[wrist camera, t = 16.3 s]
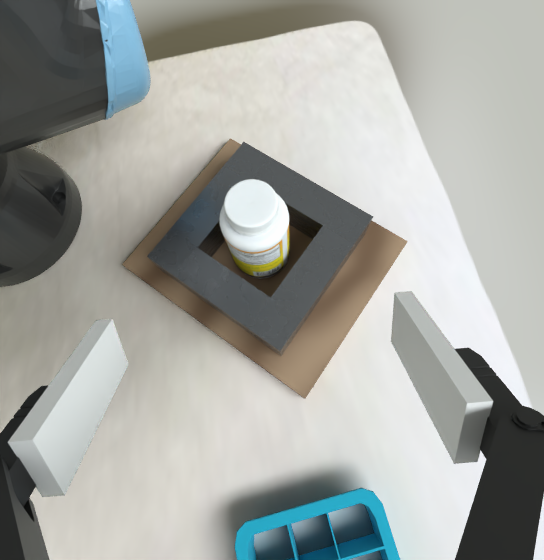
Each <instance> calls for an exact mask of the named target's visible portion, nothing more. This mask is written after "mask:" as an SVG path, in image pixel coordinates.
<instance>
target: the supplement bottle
mask: <svg viewBox="0 0 544 560" xmlns="http://www.w3.org/2000/svg"><path fill="white" fill-rule="evenodd" d="M219 223H220V228H221V231H222V234H223V236H224V238H225V241H226V243H227V245H228V247H229V250H230V252H231V255H232V257H233V259H234V262H235V263H236V265H237V267H238V268H239V269H240V270H241V271H242V272H243V273H244V274H246V275H248V276H250V277H253V278H259V279H262V278H269V277H272V276H274V275H276V274H277V273H279V272H280V271H281V270H282V269H283V268H284V266H285V265H286V263H287V261H288V258H289V213H288V209H287V206H286V204H285V202H284V201H283V199H282V198H281V197H280V196H279V195H278V194H277V193H275V191H274V190H273V188H272V187H271V186H270V185H268V184H267V183H265V182H263V181H260V180H256V179H248V180H243V181H241V182H238V183H237V184H235V185H234V186H233V187H231V188H230V190H229V191H228V192H227V194H226V197H225V200H224V204H223V206H222V209H221V212H220V217H219Z"/></svg>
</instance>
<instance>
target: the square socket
mask: <svg viewBox="0 0 544 560" xmlns="http://www.w3.org/2000/svg"><path fill="white" fill-rule="evenodd" d="M248 179H256V180H260V181H263V182H265V183H267V184H268V185H270V186H271V187H272V188H273V190H274V191H275V193H277V194H278V195H279V196H280V197H281V198H282V199H283V201H284V202H285V204H286V206H287V209H288V213H289V225H291V226H292V227H294V228H296V229H297V230H299V231H300V232H302V233H304V234H305V235H307V236H308V237H310V238H312V239H313V240H312V241H311V243H310V244H309V246H308V247H307V248H306V250H305V251H304V252H303V254H302V255H301V257H300V258H299V259H298V261H297V262H296V263H295V265H294V266H293V268H292V269H291V270H290V272H289V273H288V274H287V276H286V277H285V279H284V280H283V281H282V283H281V284H280V285H279V287H278V288H277V290H276V291H275V292H274V294H273V295H272V296H271V297H269V296H268V295H266V294H265V293H263V292H262V291H260V290H259V289H258V288H256V287H255V286H253V285H252V284H250V283H249V282H247V281H246V280H244V279H243V278H241V277H240V276H238V275H237V274H235V273H234V272H232V271H231V270H229V269H228V268H227V267H225V266H224V265H222V264H221V263H219V262H218V261H216V260H215V259H213V258H212V256H213V255H214V254H215V253H216V251H217V250H218V249H219V248H220V246H221V245H222V244H223V242H224V241H225V238H224V236H223V234H222V231H221V228H220V223H219V217H220V212H221V209H222V206H223V204H224V200H225V197H226V194H227V192H228V191H229V190H230V188H231V187H233V186H234V185H235V184H237V183H238V182H241V181H243V180H248ZM372 218H373V216H371V215H369V214H367V213H366V212H364V211H362V210H361V209H359V208H357V207H355V206H354V205H352V204H350V203H348V202H347V201H345V200H343V199H342V198H340V197H338V196H336V195H335V194H333V193H331V192H329V191H328V190H326V189H324V188H323V187H321V186H319V185H317V184H316V183H314V182H312V181H310V180H309V179H307V178H305V177H304V176H302V175H300V174H298V173H297V172H295V171H293V170H291V169H290V168H288V167H286V166H285V165H283V164H281V163H279V162H278V161H276V160H274V159H272V158H271V157H269V156H267V155H266V154H264V153H262V152H260V151H259V150H257V149H255V148H253V147H252V146H250V145H248V144H247V143H245V142H243V143H242V145H241V146H240V147H239V148H238V149H237V150H236V152H235V153H234V154H233V155H232V156H231V158H230V159H229V160H228V161H227V162H226V163H225V165H224V166H223V167H222V168H221V169H220V171H219V172H218V173H217V174H216V175H215V176H214V178H213V179H212V180H211V181H210V182H209V184H208V185H207V186H206V187H205V188H204V190H203V191H202V192H201V193H200V194H199V195H198V197H197V198H196V199H195V200H194V201H193V203H192V204H191V205H190V206H189V207H188V208H187V210H186V211H185V212H184V213H183V214H182V216H181V217H180V218H179V219H178V220H177V221H176V223H175V224H174V225H173V226H172V227H171V229H170V230H169V231H168V232H167V233H166V234H165V236H164V237H163V238H162V239H161V240H160V242H159V243H158V244H157V245H156V246H155V247H154V249H153V250H152V251H151V252H150V253H149V255H148V256H147V257H148V258H149V259H150V260H151V261H152V262H153V263H154V264H155V265H156V266H157V267H158V268H159V269H161V270H162V271H163V272H164V273H166V274H167V275H168V276H170V277H171V278H173V279H174V280H175V281H177V282H178V283H180V284H181V285H182V286H184V287H185V288H187V289H188V290H189V291H191V292H192V293H194V294H195V295H196V296H198V297H199V298H201V299H202V300H203V301H205V302H206V303H208V304H209V305H210V306H212V307H213V308H215V309H216V310H217V311H219V312H220V313H222V314H223V315H224V316H226V317H227V318H229V319H230V320H231V321H233V322H234V323H236V324H237V325H238V326H240V327H241V328H243V329H244V330H245V331H247V332H248V333H250V334H251V335H252V336H254V337H255V338H257V339H258V340H259V341H261V342H262V343H264V344H265V345H266V346H268V347H269V348H271V349H272V350H273V351H275V352H276V353H278V354H279V355H280V356H282V354H283V353H284V351H285V350H286V349H287V347H288V346H289V344H290V343H291V341H292V340H293V338H294V337H295V335H296V334H297V333H298V331H299V330H300V328H301V327H302V325H303V324H304V322H305V321H306V320H307V318H308V317H309V315H310V314H311V312H312V311H313V309H314V308H315V306H316V305H317V304H318V302H319V301H320V299H321V298H322V296H323V295H324V293H325V292H326V290H327V289H328V288H329V286H330V285H331V283H332V282H333V280H334V279H335V277H336V276H337V275H338V273H339V272H340V270H341V269H342V267H343V266H344V264H345V263H346V261H347V260H348V259H349V257H350V256H351V254H352V253H353V251H354V250H355V248H356V247H357V245H358V244H359V243H360V241H361V240H362V238H363V237H364V235H365V233H366V231H367V229H368V227H369V225H370V223H371V220H372Z"/></svg>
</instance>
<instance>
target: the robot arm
mask: <svg viewBox="0 0 544 560" xmlns="http://www.w3.org/2000/svg"><path fill="white" fill-rule="evenodd" d="M149 88H150V71H149V66H148V62H147V58H146V54H145V50H144V46H143V42H142V39H141V35H140V32H139V29H138V25H137V22H136V18H135V15H134V12H133V9H132V6H131V3H130V0H0V287H2V286H10V285H14V284H18V283H21V282H24V281H27V280H29V279H31V278H34V277H35V276H37V275H39V274H41V273H42V272H44V271H45V270H47V269H48V268H49V267H51V266H52V265H53V264H54V263H55V262H56V261H57V260H58V259H59V258H60V257H61V256H62V255H63V254H64V253H65V251H66V250H67V249H68V247H69V246H70V244H71V243H72V241H73V239H74V237H75V235H76V233H77V230H78V227H79V224H80V220H81V212H82V205H81V198H80V194H79V191H78V189H77V186H76V185H75V183H74V181H73V180H72V179H71V178H70V176H69V175H68V174H67V173H66V172H65V171H64V170H63V169H62V168H60V167H59V166H58V165H57V164H56V163H55V162H54V161H52V160H51V159H50V158H48V157H46V156H45V155H43V154H41V153H38V152H36V151H34V150H32V149H30V148H27V147H25V146H28V145H31V144H33V143H36V142H39V141H42V140H45V139H48V138H51V137H54V136H57V135H59V134H62V133H65V132H68V131H71V130H74V129H77V128H80V127H82V126H85V125H88V124H91V123H94V122H97V121H100V120H103V119H104V120H107V119H108V118H111V117H112V116H113V114H114V113H117V112H119V111H121V110H123V109H126V108H128V107H130V106H132V105H135V104H137V103H139V102H141V101H142V100H143V99H144V98H145V96H146V95H147V93H148V91H149ZM391 342H392V344H393V346H394V348H395V350H396V352H397V354H398V356H399V358H400V360H401V362H402V363H403V365H404V367H405V369H406V371H407V373H408V375H409V377H410V379H411V381H412V383H413V385H414V387H415V389H416V391H417V393H418V394H419V396H420V398H421V400H422V402H423V404H424V406H425V408H426V410H427V412H428V414H429V416H430V418H431V420H432V422H433V424H434V426H435V427H436V429H437V431H438V433H439V435H440V437H441V439H442V441H443V443H444V445H445V447H446V449H447V451H448V453H449V455H450V457H451V459H452V460H453V462H454V464H455V463H468V462H477V461H478V457H479V454H480V450H481V451H482V453H483V454H484V456H485V458H486V459H487V460H486V463H485V466H484V469H483V472H482V475H481V479H480V482H479V485H478V488H477V491H476V495H475V498H474V501H473V504H472V507H471V510H470V514H469V517H468V520H467V523H466V526H465V529H464V533H463V536H462V539H461V542H460V545H459V549H458V552H457V555H456V558H455V560H533V556H534V550H535V544H536V537H537V531H538V525H539V519H540V512H541V506H542V500H543V494H544V416H543V415H542V414H541V413H539V412H538V411H535V410H534V409H532V408H529V407H525V406H522V405H521V404H520V402H519V401H518V400H517V399H516V398H515V396H514V395H513V394H512V393H511V391H510V390H509V389H508V388H507V387H506V385H505V384H504V383H503V382H502V381H501V379H500V378H499V377H498V376H496V373H495V372H494V371H493V370H492V368H490V367H489V365H488V364H487V362H486V361H485V360H484V359H483V358H482V356H480V355H479V354H477V353H476V352H474V351H473V350H471V349H470V348H460V349H454V348H453V346H452V345H451V344H450V342H449V341H448V340H447V338H446V337H445V336H444V334H443V333H442V332H441V330H440V329H439V328H438V326H437V325H436V324H435V322H434V321H433V320H432V318H431V317H430V316H429V314H428V313H427V312H426V310H425V309H424V308H423V306H422V305H421V304H420V302H419V301H418V299H417V298H416V297H415V295H414V294H413V293H412V291H409V292H398V293H395V295H394V308H393V321H392V335H391ZM128 365H129V364H128V361H127V359H126V356H125V353H124V350H123V347H122V344H121V342H120V339H119V336H118V333H117V330H116V328H115V325H114V322H113V319H103V320H96V321H95V322H94V324H93V325H92V327H91V328H90V329H89V331H88V332H87V333H86V335H85V336H84V338H83V339H82V340H81V342H80V343H79V344H78V346H77V347H76V349H75V350H74V351H73V353H72V354H71V356H70V357H69V358H68V360H67V361H66V362H65V364H64V365H63V367H62V368H61V369H60V371H59V372H58V373H57V375H56V376H55V378H54V379H53V380H52V382H51V383H50V385H49V386H41V387H40V388H38V389H37V390H36V391H35V392H34V393H32V394H31V395H30V396H29V397H28V398H27V399H26V401H25V402H24V403H23V405H22V406H21V407H20V408H21V409H19V410H18V411H17V412H16V414H15V415H14V418H13V419H11V420H10V422H9V423H8V424H7V426H6V427H5V428H4V430H3V431H2V432H1V433H0V560H49V557H48V553H47V550H46V547H45V543H44V540H43V536H42V533H41V529H40V526H39V522H38V519H37V515H36V512H35V508H34V505H33V503H32V501H31V500H30V498H29V497H30V495H31V494H32V492H33V490H34V488H35V487H36V488H37V489H38V491H39V492H40V494H41V495H42V497H49V496H62V495H65V494H66V492H67V489H68V487H69V485H70V483H71V481H72V479H73V477H74V475H75V473H76V471H77V469H78V467H79V465H80V463H81V461H82V459H83V457H84V455H85V453H86V451H87V449H88V446H89V444H90V442H91V440H92V438H93V436H94V434H95V432H96V430H97V428H98V426H99V424H100V422H101V420H102V418H103V416H104V414H105V412H106V410H107V408H108V406H109V403H110V401H111V399H112V397H113V395H114V393H115V391H116V389H117V387H118V385H119V383H120V381H121V379H122V377H123V375H124V373H125V371H126V369H127V367H128Z"/></svg>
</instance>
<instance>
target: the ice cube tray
mask: <svg viewBox="0 0 544 560" xmlns="http://www.w3.org/2000/svg"><path fill="white" fill-rule="evenodd" d="M360 503H362V504H364V505H365V507H366V509H367V511H368V513H369V517H370V520H371V523H372V527H373V530H374V533H373V534H370V535H367V536H363V537H360V538H357V539H353V540H350V541H346V542H343V543H340V544H336V541H335V537H334V534H333V530H332V526H331V523H330V519H329V515H328V513H329V512H332V511H336V510H339V509H343V508H346V507H350V506H353V505H356V504H360ZM322 514H327V518H328V522H329V525H330V529H331V533H332V536H333V540H334V544H335V545H333V546H330V547H326V548H323V549H319V550H316V551H313V552H309V553H306V554H303V555H299V554H298V550H297V546H296V542H295V538H294V534H293V530H292V526H291V523H295V522H298V521H302V520H305V519H309V518H312V517H315V516H319V515H322ZM285 525H287V527H288V531H289V535H290V539H291V544H292V548H293V552H294V556H295V557H292V558H289V559H286V560H349V559H352V558H355V557H359V556H362V555H365V554H369V553H372V552H375V551H379V550H380V553H381V556H382V560H400V558H399V555H398V551H397V548H396V545H395V542H394V539H393V536H392V532H391V529H390V526H389V523H388V520H387V517H386V513H385V510H384V507H383V504H382V503H381V501H380V500H379V499H378V497H377V496H376V495H375V494H374V492H373V491H370V490H367V489H364V488H359V489H356V490H352V491H349V492H346V493H342V494H339V495H335V496H332V497H328V498H325V499H321V500H318V501H315V502H311V503H308V504H304V505H301V506H297V507H294V508H291V509H287V510H284V511H280V512H277V513H273V514H270V515H267V516H263V517H260V518H256V519H253V520H249V521H246V522H245V523H244V524H243V525H242V526H241V528H240V529H239V530H238V531H237V536H236V542H235V551H236V556H237V560H257V558H256V553H255V548H254V534H257V533H261V532H264V531H268V530H271V529H274V528H278V527H281V526H285Z"/></svg>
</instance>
